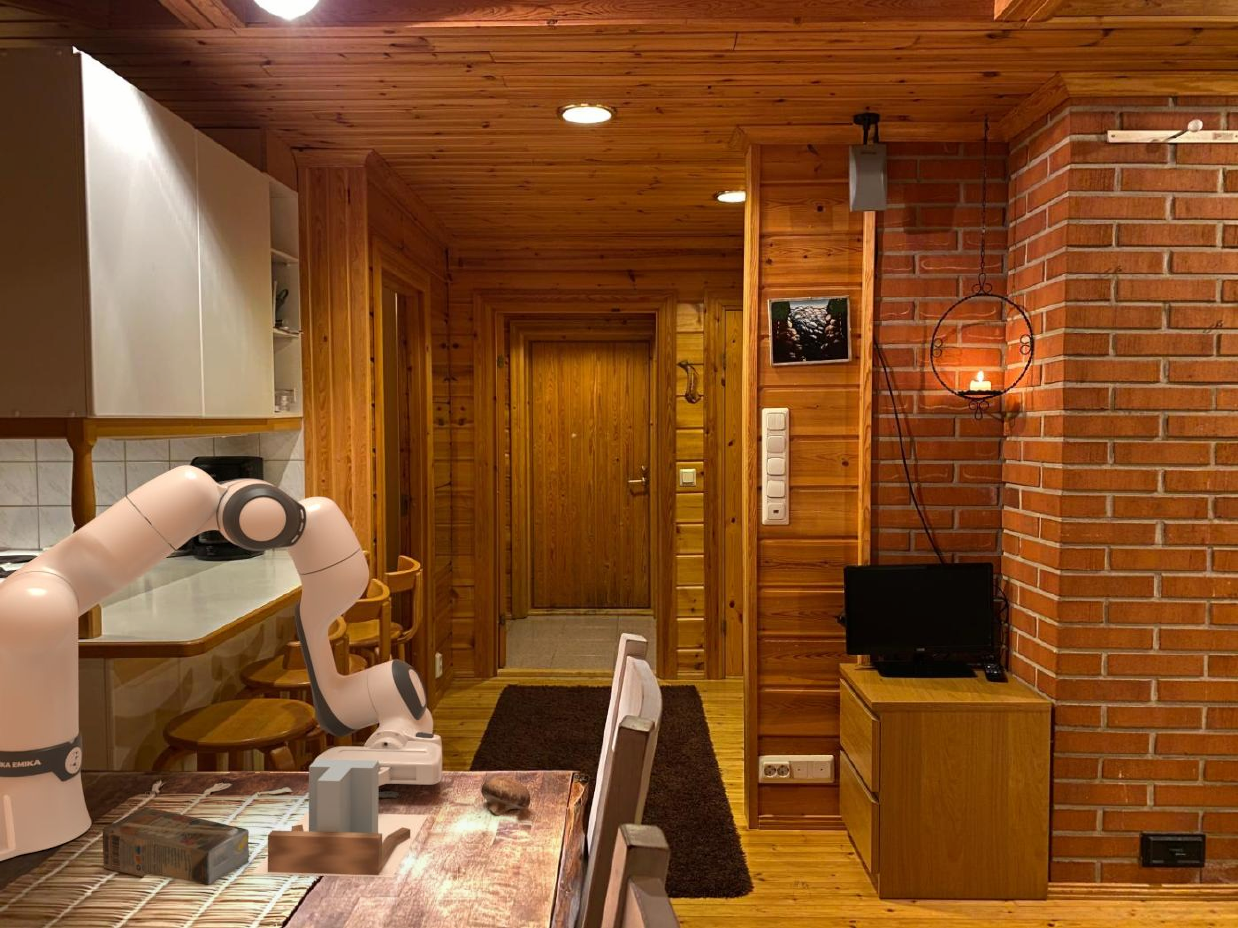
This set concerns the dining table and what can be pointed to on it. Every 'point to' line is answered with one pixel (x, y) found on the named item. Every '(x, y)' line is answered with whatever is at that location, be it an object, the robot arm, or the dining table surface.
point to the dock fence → (331, 851)
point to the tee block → (343, 796)
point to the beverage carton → (174, 846)
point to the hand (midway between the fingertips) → (365, 784)
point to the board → (386, 827)
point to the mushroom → (505, 795)
